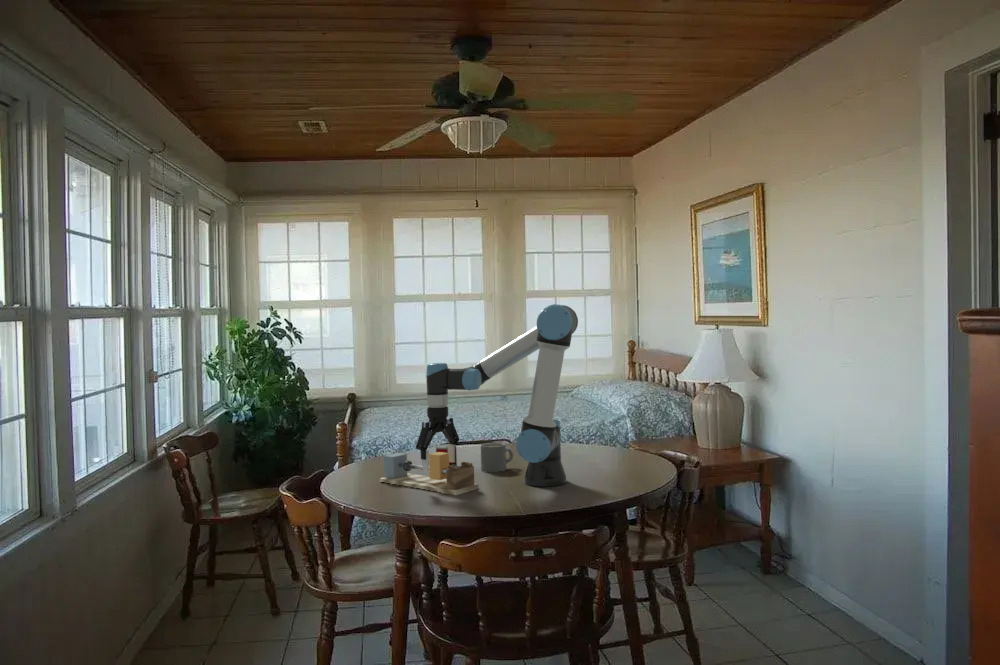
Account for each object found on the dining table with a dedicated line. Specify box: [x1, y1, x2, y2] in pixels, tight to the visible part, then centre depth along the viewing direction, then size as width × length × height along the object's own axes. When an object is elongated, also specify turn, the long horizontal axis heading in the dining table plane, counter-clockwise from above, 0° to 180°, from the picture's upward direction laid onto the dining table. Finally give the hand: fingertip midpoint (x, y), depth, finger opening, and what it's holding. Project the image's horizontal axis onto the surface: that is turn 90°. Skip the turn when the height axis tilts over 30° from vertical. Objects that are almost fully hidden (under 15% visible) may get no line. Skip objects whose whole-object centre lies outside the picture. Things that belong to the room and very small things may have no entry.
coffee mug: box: [480, 442, 514, 473], centre depth 281 cm, size 13×10×10 cm
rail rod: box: [399, 460, 448, 474], centre depth 257 cm, size 29×4×4 cm, turn 52°
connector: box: [383, 452, 408, 479], centre depth 267 cm, size 5×7×8 cm
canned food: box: [435, 443, 458, 466], centre depth 275 cm, size 8×8×11 cm
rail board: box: [379, 461, 479, 496], centre depth 257 cm, size 38×12×9 cm, turn 52°
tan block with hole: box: [429, 451, 449, 480], centre depth 253 cm, size 5×5×9 cm
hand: (438, 465), depth 253 cm, fingers open, 13 cm apart
